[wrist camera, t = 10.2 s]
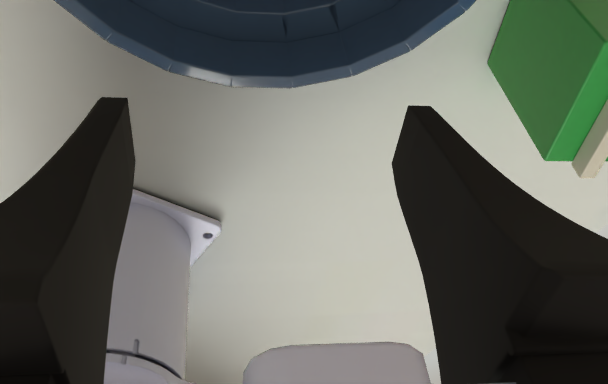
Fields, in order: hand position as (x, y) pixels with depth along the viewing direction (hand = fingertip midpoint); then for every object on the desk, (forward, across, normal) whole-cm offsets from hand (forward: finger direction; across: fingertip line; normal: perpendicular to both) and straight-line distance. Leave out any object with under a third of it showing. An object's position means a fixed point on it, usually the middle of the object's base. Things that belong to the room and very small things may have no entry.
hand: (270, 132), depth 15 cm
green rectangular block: (+10, -12, +1) cm, 15 cm away
